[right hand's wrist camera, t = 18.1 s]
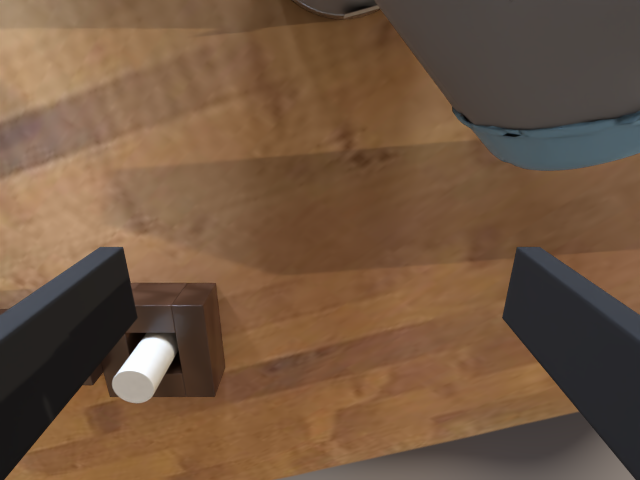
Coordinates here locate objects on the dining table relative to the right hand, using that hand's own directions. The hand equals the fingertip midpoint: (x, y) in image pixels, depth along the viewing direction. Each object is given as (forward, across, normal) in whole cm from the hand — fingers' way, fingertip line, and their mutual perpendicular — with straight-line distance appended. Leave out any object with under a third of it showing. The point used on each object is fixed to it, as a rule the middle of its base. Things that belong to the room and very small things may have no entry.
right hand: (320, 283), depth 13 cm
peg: (+27, -18, -20) cm, 38 cm away
